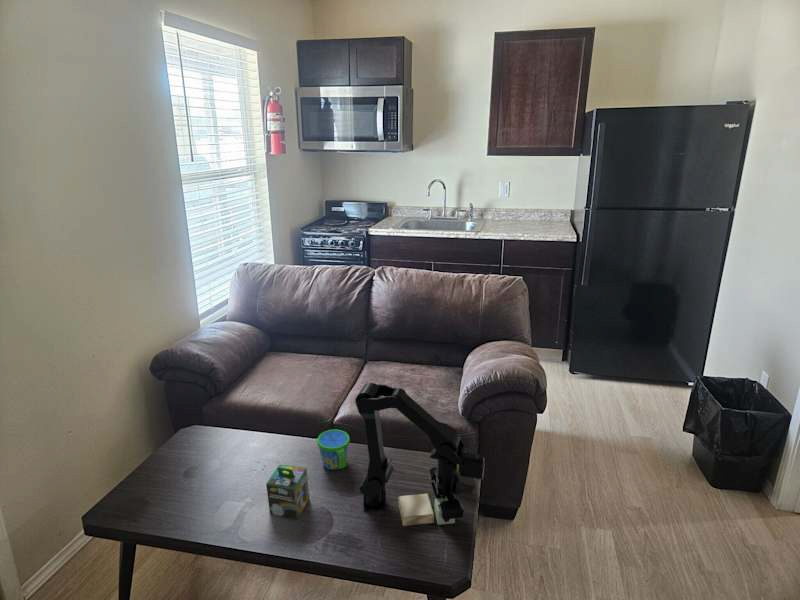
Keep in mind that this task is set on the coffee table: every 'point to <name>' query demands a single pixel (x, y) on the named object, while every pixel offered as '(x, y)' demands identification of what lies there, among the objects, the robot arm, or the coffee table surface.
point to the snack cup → (333, 448)
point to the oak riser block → (415, 509)
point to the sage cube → (438, 514)
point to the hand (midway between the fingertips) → (444, 514)
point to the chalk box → (288, 491)
